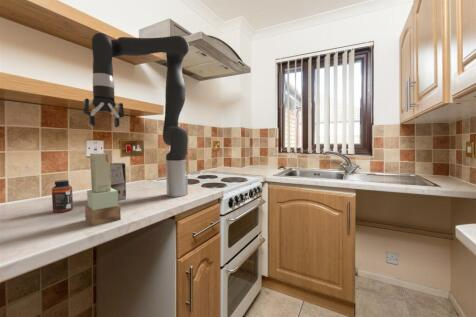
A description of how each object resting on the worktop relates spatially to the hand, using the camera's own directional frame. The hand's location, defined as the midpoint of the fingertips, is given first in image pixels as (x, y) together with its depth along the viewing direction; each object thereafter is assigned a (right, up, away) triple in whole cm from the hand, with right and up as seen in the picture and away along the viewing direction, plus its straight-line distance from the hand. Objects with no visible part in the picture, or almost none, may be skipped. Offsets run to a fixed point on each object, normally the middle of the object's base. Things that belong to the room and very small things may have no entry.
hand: (105, 126), depth 91 cm
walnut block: (+11, -34, -19) cm, 40 cm away
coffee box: (0, -32, +11) cm, 33 cm away
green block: (+11, -29, -19) cm, 36 cm away
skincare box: (+10, -24, -19) cm, 32 cm away
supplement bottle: (-10, -33, -9) cm, 36 cm away
